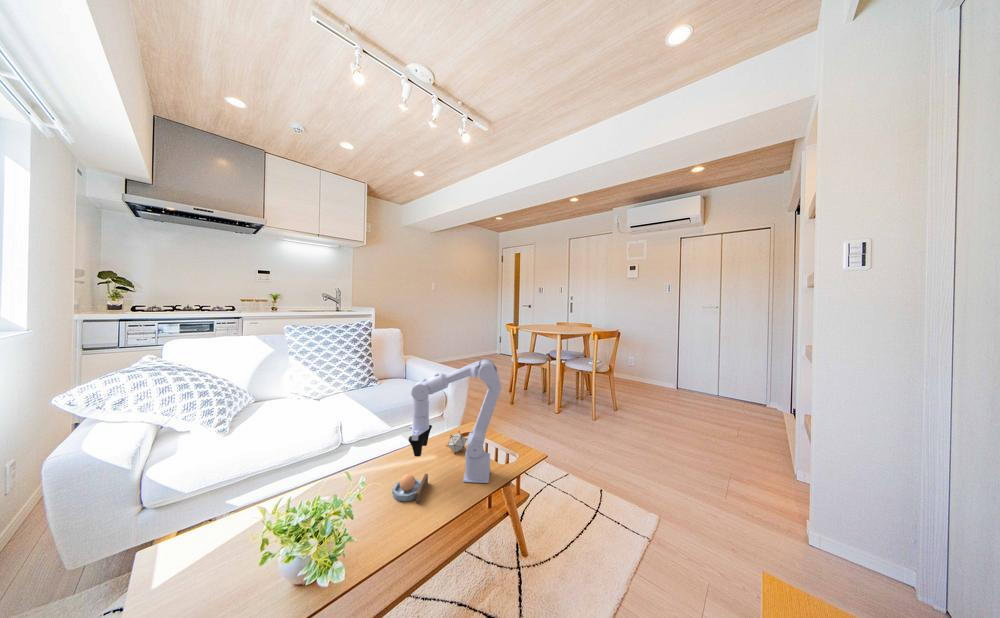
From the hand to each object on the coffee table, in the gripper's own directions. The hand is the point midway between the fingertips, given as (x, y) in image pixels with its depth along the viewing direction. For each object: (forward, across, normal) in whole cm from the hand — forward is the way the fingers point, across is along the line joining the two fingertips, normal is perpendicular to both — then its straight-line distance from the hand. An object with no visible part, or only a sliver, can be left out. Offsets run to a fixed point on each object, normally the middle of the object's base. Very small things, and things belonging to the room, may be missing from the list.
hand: (420, 450), depth 113 cm
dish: (+10, +8, -2) cm, 14 cm away
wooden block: (+10, +8, +3) cm, 14 cm away
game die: (+11, -20, +10) cm, 25 cm away
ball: (+10, +8, -2) cm, 13 cm away
